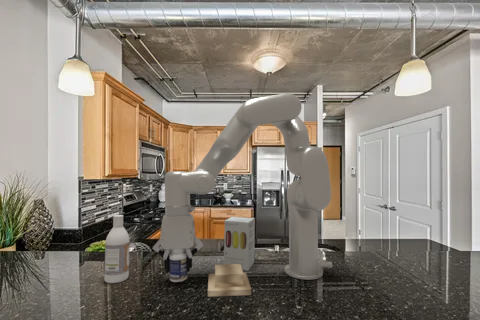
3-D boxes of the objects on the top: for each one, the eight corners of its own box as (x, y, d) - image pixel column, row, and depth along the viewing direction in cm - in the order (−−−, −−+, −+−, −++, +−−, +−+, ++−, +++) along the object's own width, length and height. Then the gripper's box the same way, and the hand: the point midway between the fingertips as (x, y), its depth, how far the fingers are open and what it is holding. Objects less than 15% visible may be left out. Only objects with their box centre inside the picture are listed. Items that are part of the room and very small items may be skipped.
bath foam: (127, 282, 78) (129, 216, 79) (102, 285, 76) (104, 217, 77) (129, 273, 85) (130, 213, 86) (105, 276, 82) (108, 214, 83)
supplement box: (222, 268, 90) (223, 220, 91) (231, 259, 99) (231, 216, 100) (248, 271, 87) (249, 221, 88) (255, 262, 96) (255, 217, 97)
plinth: (245, 277, 82) (246, 261, 83) (251, 294, 70) (251, 276, 71) (208, 278, 81) (208, 262, 81) (207, 296, 69) (207, 278, 69)
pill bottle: (183, 283, 74) (182, 249, 75) (166, 282, 75) (165, 248, 76) (190, 275, 79) (189, 244, 80) (174, 274, 81) (174, 243, 81)
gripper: (206, 208, 83) (207, 264, 82) (152, 210, 81) (152, 268, 80) (205, 212, 75) (206, 274, 75) (145, 214, 74) (146, 277, 73)
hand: (178, 270), depth 77 cm, fingers closed on pill bottle, 5 cm apart
